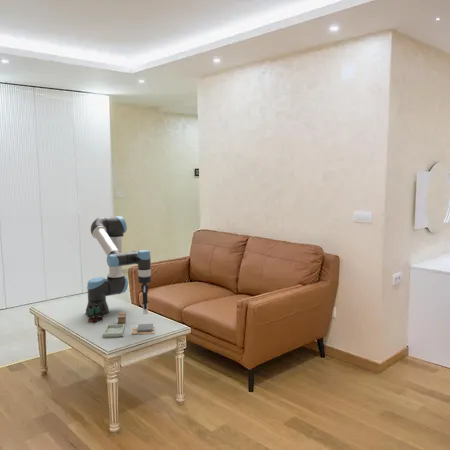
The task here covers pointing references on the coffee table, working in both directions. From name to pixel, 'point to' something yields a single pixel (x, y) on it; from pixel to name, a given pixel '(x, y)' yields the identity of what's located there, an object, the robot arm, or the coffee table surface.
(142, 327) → the grey square tile
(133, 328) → the cork mat
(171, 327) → the coffee table surface
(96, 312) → the binoculars
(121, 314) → the block
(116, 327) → the tray
